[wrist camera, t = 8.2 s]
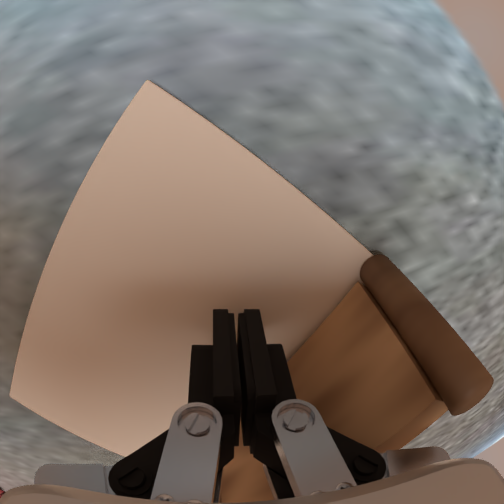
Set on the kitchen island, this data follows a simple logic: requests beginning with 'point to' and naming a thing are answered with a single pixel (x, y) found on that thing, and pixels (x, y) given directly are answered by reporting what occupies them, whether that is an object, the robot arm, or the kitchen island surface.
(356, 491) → the robot arm
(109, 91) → the kitchen island surface
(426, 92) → the kitchen island surface
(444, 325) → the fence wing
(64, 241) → the card
